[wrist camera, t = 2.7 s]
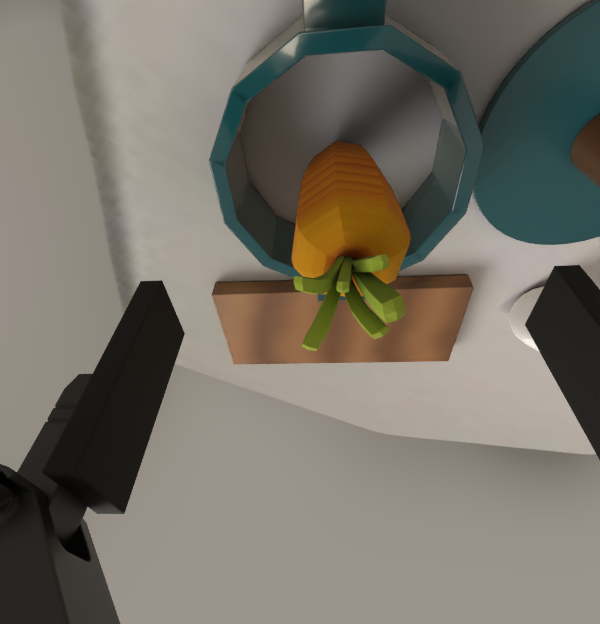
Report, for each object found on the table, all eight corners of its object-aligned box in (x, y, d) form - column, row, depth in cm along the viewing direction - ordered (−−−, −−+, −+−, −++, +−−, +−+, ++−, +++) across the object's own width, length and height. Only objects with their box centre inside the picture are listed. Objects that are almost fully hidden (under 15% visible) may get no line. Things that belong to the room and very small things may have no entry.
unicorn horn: (599, 411, 42) (624, 453, 38) (496, 303, 31) (518, 348, 27) (649, 395, 39) (681, 438, 36) (556, 271, 28) (589, 316, 25)
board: (468, 274, 29) (473, 287, 28) (444, 348, 35) (448, 361, 34) (215, 282, 30) (211, 294, 29) (236, 352, 37) (233, 364, 36)
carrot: (309, 197, 25) (303, 390, 14) (287, 119, 21) (258, 295, 11) (385, 179, 24) (440, 372, 13) (374, 94, 20) (437, 261, 10)
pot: (492, -51, 16) (538, -49, 13) (427, 258, 28) (442, 302, 24) (195, -24, 17) (165, -15, 14) (253, 264, 29) (244, 307, 25)
